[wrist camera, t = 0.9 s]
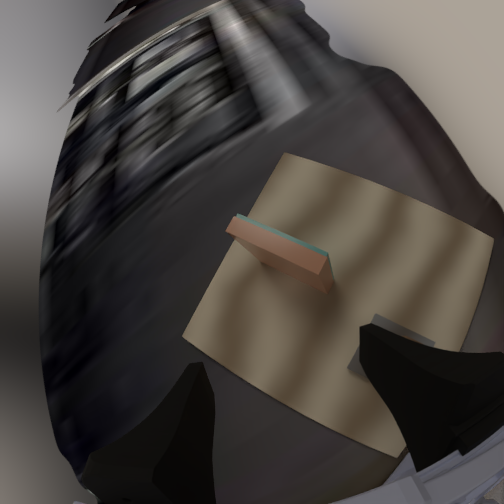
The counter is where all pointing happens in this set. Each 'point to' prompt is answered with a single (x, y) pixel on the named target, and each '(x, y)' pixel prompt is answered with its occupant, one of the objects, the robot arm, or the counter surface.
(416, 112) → the counter surface
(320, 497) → the counter surface
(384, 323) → the wooden post on base
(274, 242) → the tile
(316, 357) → the board
